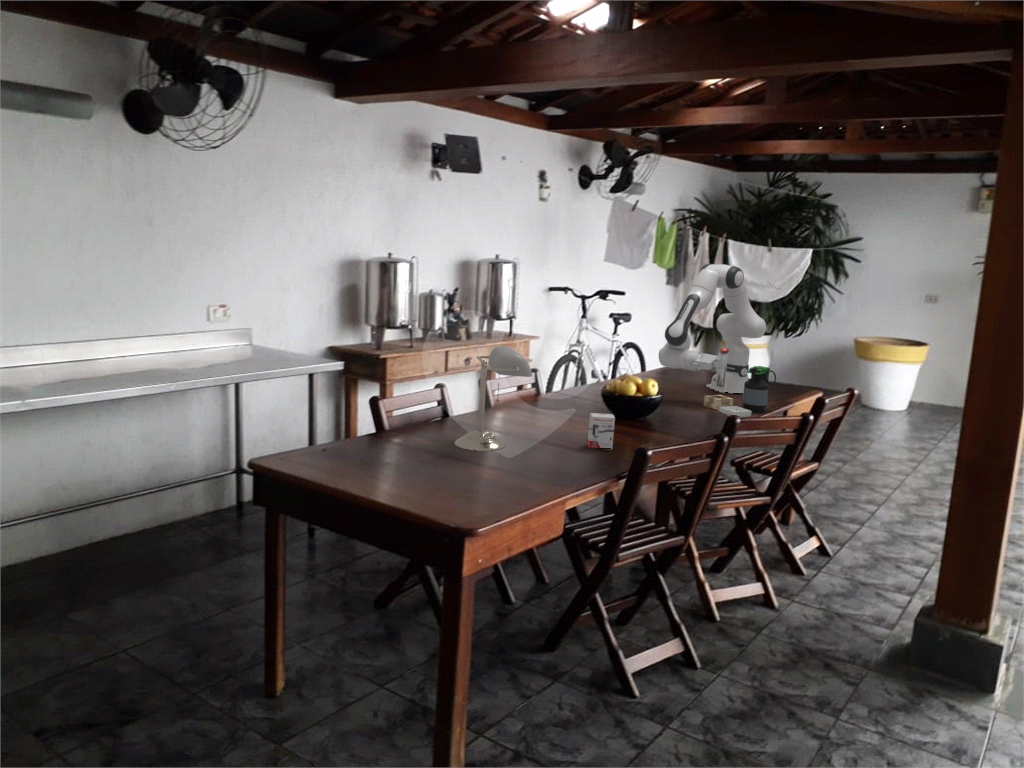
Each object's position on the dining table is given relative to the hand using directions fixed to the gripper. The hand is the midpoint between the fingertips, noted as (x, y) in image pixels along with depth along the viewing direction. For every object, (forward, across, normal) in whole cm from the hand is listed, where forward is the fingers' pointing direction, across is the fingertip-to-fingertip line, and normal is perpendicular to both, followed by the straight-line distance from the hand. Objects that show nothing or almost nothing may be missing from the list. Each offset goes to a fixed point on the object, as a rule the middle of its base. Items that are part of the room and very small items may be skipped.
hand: (724, 364), depth 359 cm
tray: (+8, -10, +20) cm, 24 cm away
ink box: (-26, -98, +19) cm, 103 cm away
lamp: (-60, -118, +18) cm, 133 cm away
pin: (-1, 0, +10) cm, 10 cm away
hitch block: (-1, -1, +20) cm, 20 cm away
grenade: (+15, +6, +20) cm, 26 cm away
